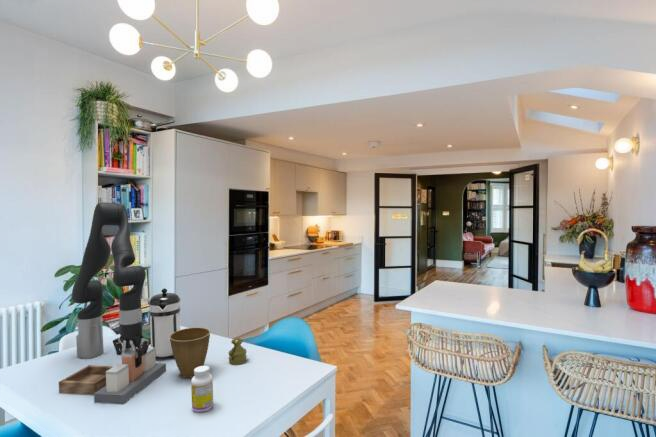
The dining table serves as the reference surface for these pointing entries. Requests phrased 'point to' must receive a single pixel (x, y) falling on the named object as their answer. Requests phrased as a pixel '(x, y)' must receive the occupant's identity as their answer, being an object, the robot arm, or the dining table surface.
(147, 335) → the food container
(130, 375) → the block
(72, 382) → the tray
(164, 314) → the coffee press
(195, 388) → the supplement bottle
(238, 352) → the olive green lumpy piece
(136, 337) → the robot arm
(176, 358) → the plant pot
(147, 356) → the block
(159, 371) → the frame
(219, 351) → the dining table surface
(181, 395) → the dining table surface
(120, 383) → the block
